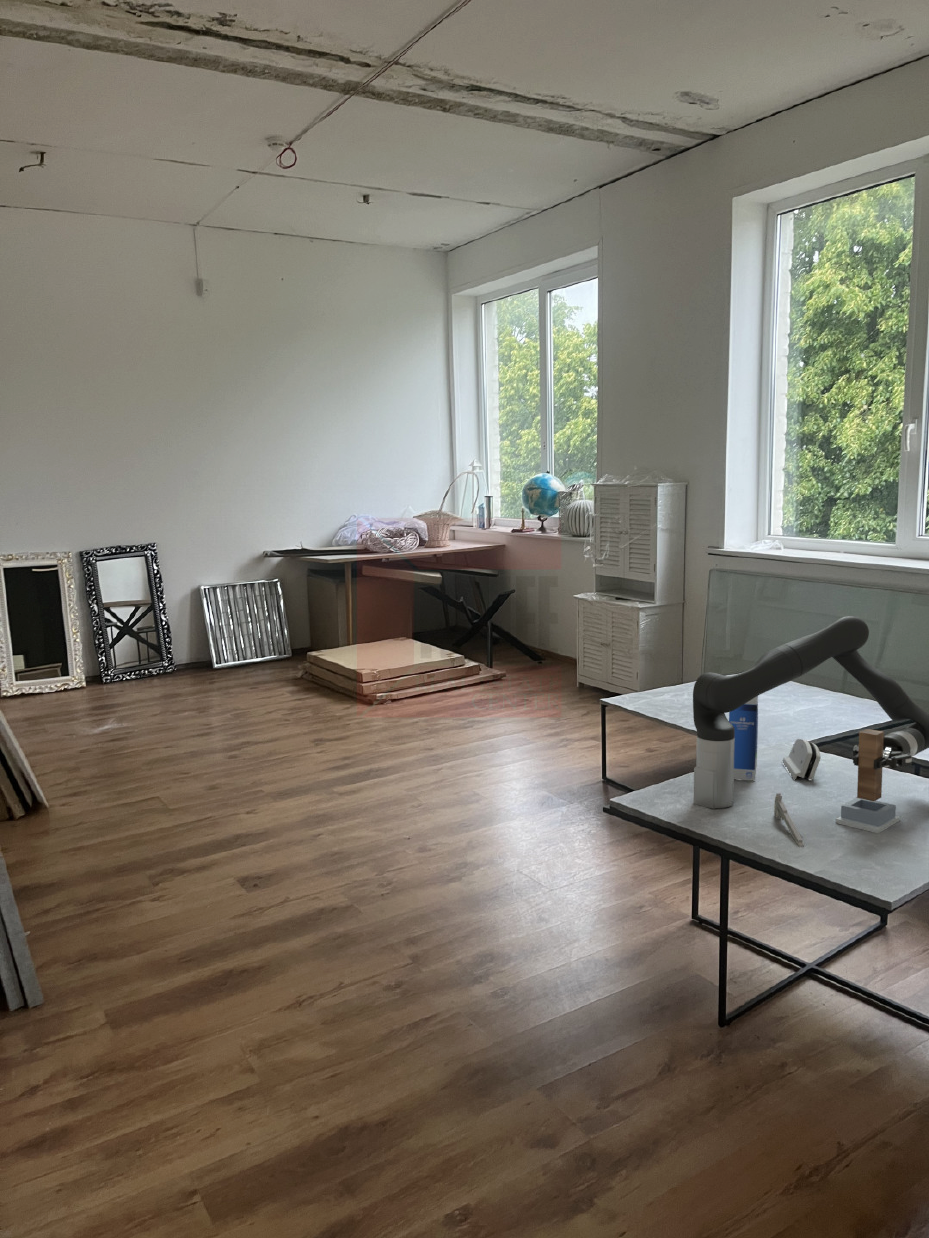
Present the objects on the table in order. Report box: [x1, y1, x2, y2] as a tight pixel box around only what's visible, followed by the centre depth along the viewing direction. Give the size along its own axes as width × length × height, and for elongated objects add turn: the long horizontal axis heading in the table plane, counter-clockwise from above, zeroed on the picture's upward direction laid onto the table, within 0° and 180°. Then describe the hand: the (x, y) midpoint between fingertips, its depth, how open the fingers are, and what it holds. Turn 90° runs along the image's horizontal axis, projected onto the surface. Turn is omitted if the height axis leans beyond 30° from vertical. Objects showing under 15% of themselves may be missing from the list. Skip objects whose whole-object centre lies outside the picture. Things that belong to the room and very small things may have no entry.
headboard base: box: [835, 796, 901, 834], centre depth 215 cm, size 12×10×4 cm
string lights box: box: [728, 695, 759, 781], centre depth 253 cm, size 13×8×26 cm, turn 161°
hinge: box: [782, 738, 821, 780], centre depth 255 cm, size 17×5×10 cm, turn 172°
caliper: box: [773, 793, 805, 848], centre depth 210 cm, size 20×1×6 cm, turn 177°
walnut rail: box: [856, 728, 885, 801], centre depth 214 cm, size 4×4×16 cm
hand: (865, 763), depth 212 cm, fingers closed on walnut rail, 4 cm apart
